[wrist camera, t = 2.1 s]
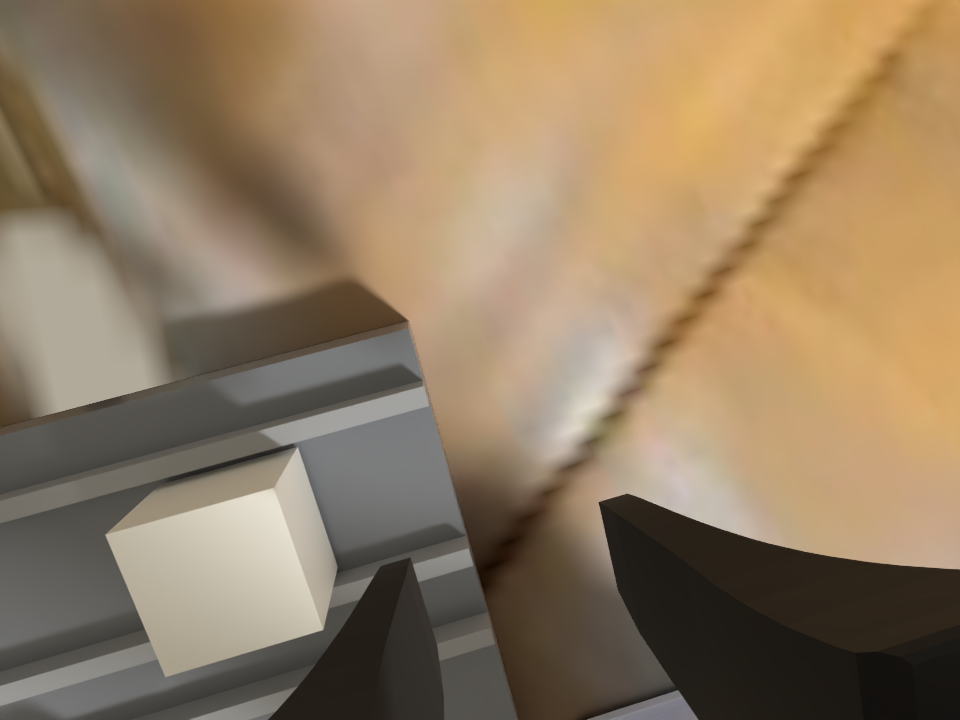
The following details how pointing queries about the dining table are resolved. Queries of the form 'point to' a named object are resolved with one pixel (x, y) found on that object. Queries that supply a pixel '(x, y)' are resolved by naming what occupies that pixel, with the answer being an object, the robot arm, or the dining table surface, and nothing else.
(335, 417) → the switch board
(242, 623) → the switch tab
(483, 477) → the dining table surface
